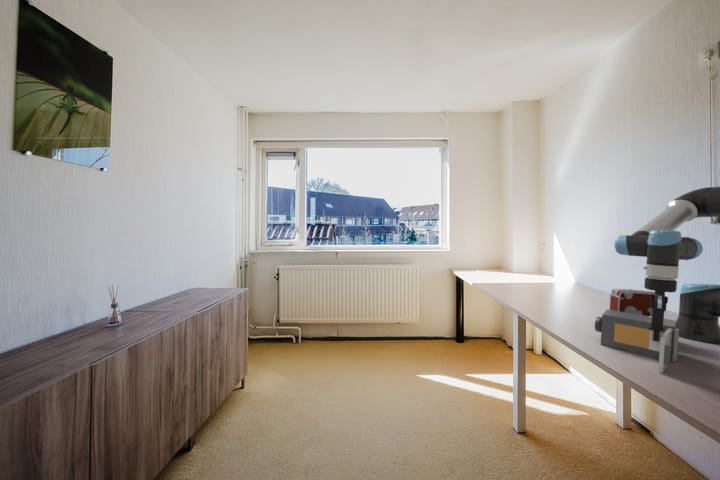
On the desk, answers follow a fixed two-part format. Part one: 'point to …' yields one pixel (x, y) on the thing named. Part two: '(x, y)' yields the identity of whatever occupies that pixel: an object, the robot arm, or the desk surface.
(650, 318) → the grey cabinet with knob
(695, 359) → the desk surface
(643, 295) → the cine camera
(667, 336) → the side door
